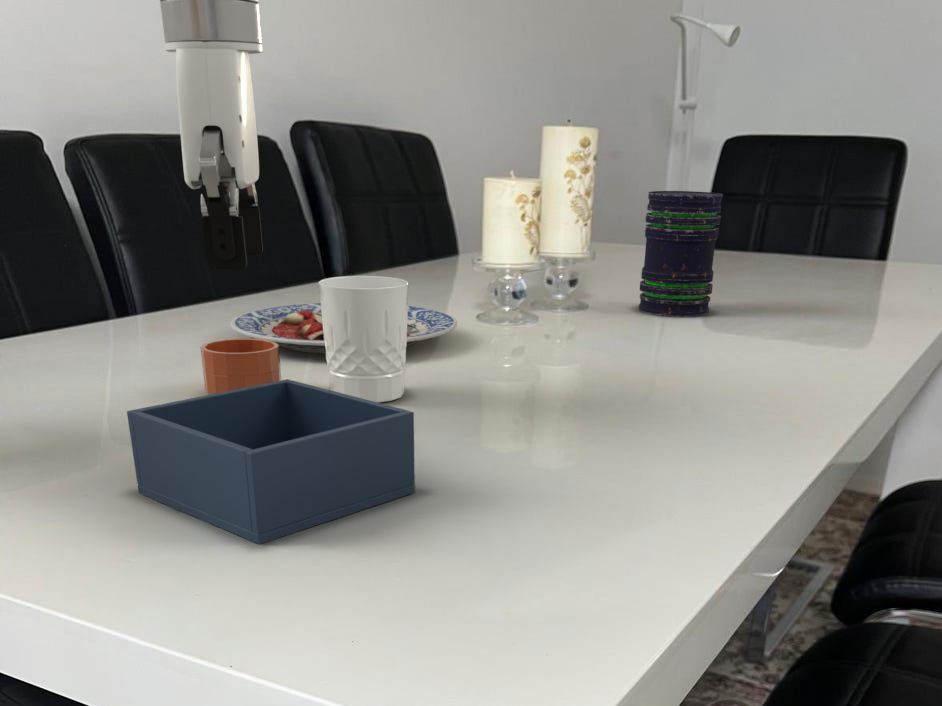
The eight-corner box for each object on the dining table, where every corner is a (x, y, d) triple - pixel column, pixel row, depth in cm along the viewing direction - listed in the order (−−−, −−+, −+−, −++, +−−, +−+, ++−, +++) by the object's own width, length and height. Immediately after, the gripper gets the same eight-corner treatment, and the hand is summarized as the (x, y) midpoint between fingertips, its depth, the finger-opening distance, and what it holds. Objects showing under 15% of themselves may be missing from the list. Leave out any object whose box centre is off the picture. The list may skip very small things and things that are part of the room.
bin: (138, 493, 67) (126, 410, 65) (292, 452, 76) (287, 378, 73) (259, 544, 59) (250, 453, 57) (415, 492, 68) (414, 411, 66)
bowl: (191, 394, 91) (185, 345, 89) (251, 382, 96) (247, 335, 94) (236, 407, 88) (231, 356, 85) (297, 394, 92) (293, 346, 90)
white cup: (359, 381, 97) (355, 273, 93) (426, 392, 94) (425, 280, 89) (307, 397, 91) (299, 282, 87) (376, 410, 88) (373, 291, 83)
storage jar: (630, 305, 142) (639, 190, 135) (697, 305, 143) (710, 191, 136) (647, 317, 133) (658, 195, 126) (719, 317, 134) (733, 196, 127)
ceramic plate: (229, 366, 102) (226, 336, 100) (234, 322, 124) (232, 297, 123) (476, 360, 107) (476, 332, 105) (438, 318, 129) (438, 294, 128)
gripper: (186, 37, 86) (211, 249, 94) (137, 21, 71) (171, 275, 79) (274, 38, 86) (291, 248, 94) (244, 22, 71) (267, 275, 79)
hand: (237, 260), depth 87 cm, fingers open, 9 cm apart
